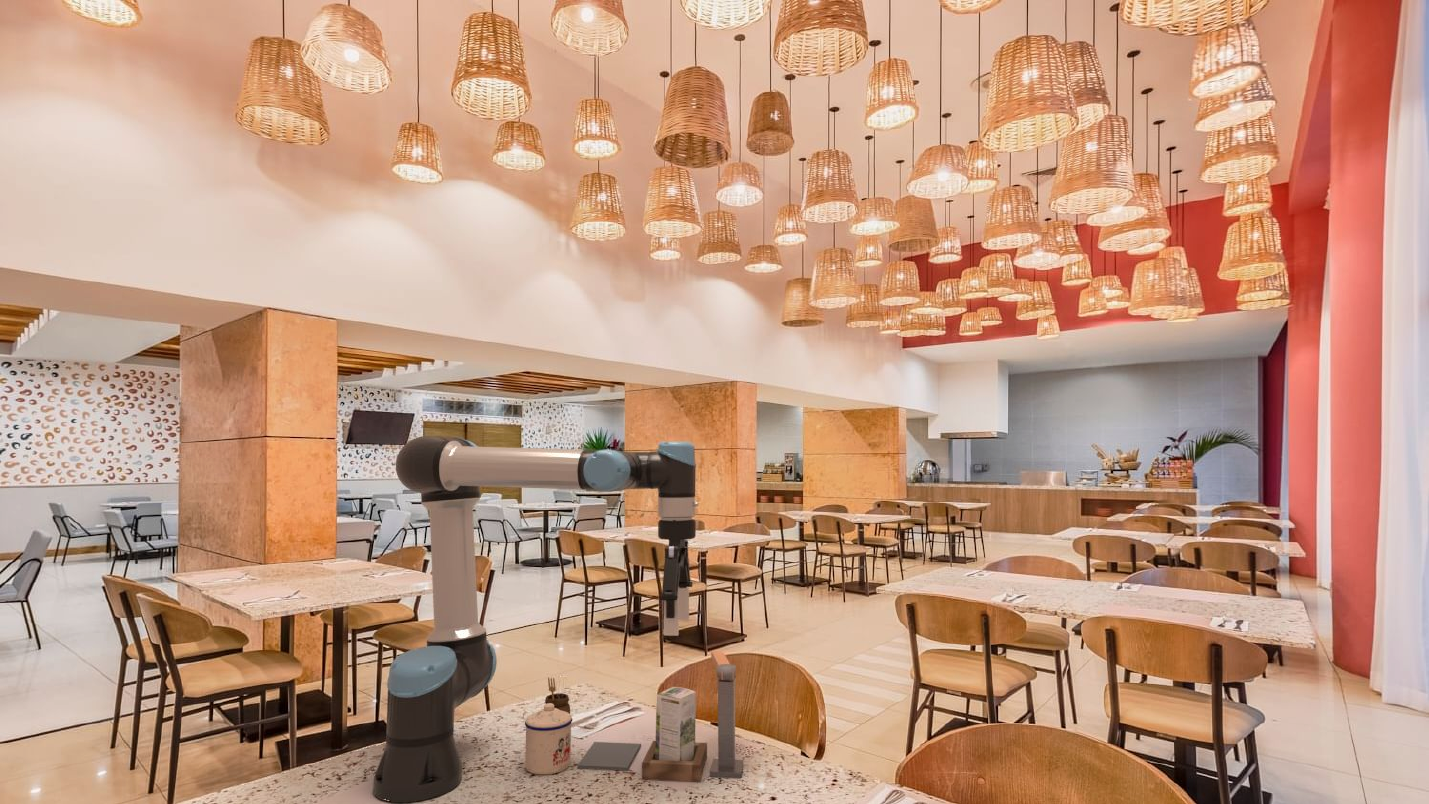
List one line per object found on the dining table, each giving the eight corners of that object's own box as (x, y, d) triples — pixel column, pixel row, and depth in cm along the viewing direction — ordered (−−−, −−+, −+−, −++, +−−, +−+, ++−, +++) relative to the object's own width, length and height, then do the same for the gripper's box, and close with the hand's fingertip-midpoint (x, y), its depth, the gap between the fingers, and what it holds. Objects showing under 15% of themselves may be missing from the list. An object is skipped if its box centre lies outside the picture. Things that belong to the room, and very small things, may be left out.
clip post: (709, 776, 134) (709, 683, 136) (713, 763, 140) (713, 674, 142) (741, 778, 133) (740, 684, 135) (743, 765, 139) (743, 675, 141)
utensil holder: (574, 725, 161) (575, 670, 162) (562, 735, 155) (563, 678, 156) (550, 723, 162) (551, 669, 164) (537, 733, 156) (538, 676, 158)
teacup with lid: (560, 777, 134) (562, 713, 135) (515, 774, 135) (517, 710, 136) (583, 752, 145) (584, 694, 147) (541, 749, 147) (543, 691, 148)
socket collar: (641, 779, 133) (641, 762, 133) (653, 755, 144) (653, 740, 144) (700, 782, 132) (699, 765, 132) (707, 758, 143) (707, 742, 143)
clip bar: (708, 657, 152) (708, 648, 153) (725, 657, 153) (725, 647, 153) (718, 680, 136) (718, 669, 136) (737, 679, 137) (737, 668, 137)
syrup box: (670, 760, 142) (671, 685, 143) (696, 766, 139) (696, 689, 140) (654, 770, 137) (655, 693, 138) (680, 777, 134) (680, 697, 135)
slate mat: (577, 768, 138) (577, 765, 138) (594, 744, 150) (594, 741, 150) (627, 770, 137) (627, 767, 137) (640, 746, 149) (640, 743, 149)
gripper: (686, 523, 130) (686, 642, 127) (703, 514, 154) (703, 614, 152) (645, 523, 130) (645, 641, 128) (669, 514, 155) (669, 614, 153)
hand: (677, 627), depth 140 cm, fingers open, 13 cm apart
